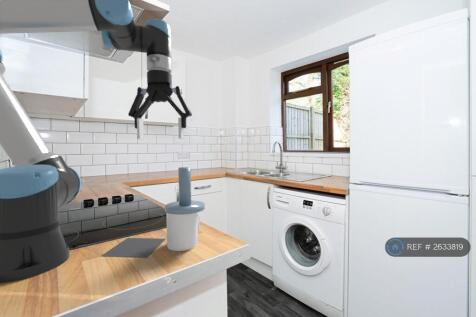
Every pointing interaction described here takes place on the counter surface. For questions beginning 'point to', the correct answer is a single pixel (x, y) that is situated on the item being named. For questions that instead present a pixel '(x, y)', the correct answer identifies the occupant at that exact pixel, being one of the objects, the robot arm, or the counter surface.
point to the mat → (134, 247)
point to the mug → (182, 231)
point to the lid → (184, 196)
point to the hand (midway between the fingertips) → (160, 138)
